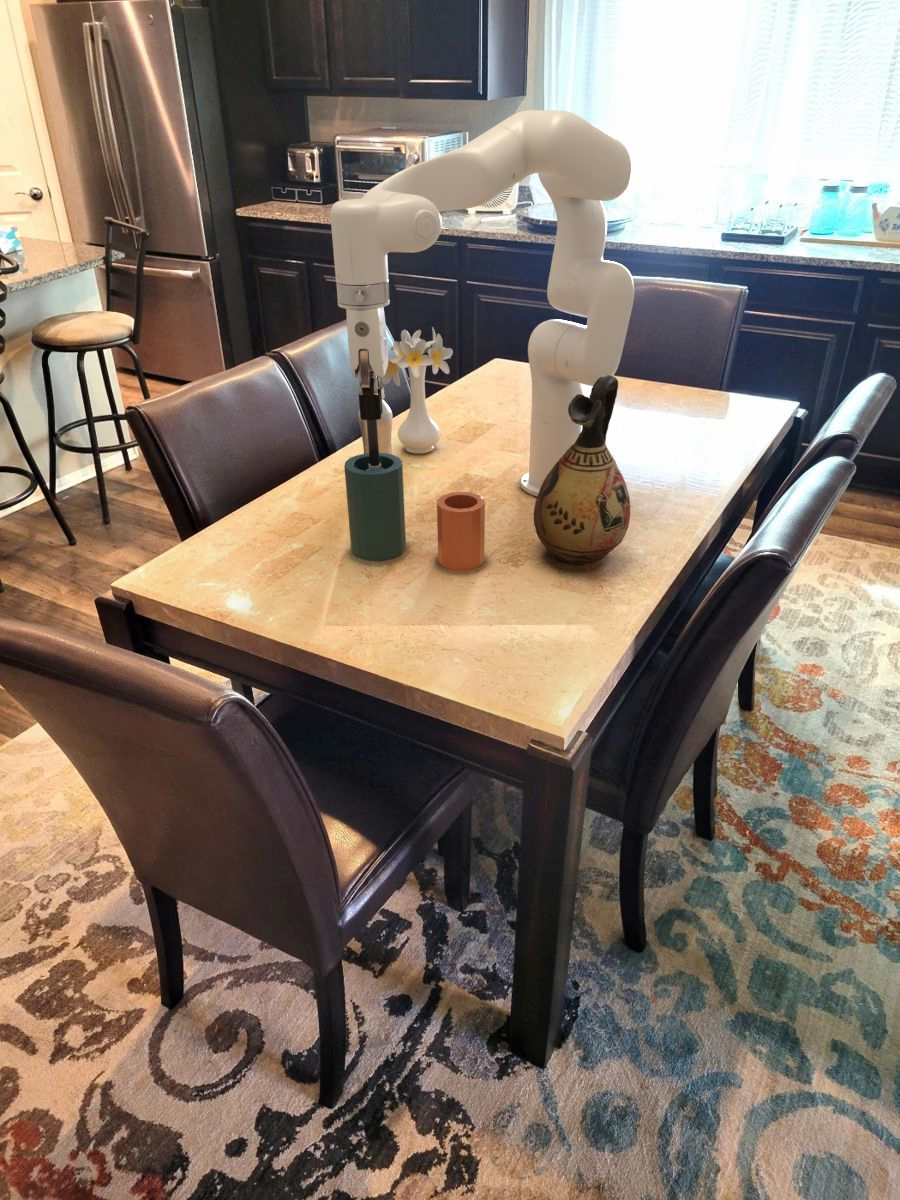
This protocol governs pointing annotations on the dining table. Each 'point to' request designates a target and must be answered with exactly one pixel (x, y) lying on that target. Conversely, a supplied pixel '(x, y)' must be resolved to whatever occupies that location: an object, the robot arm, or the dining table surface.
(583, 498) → the ceramic jug
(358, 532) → the teal hollow cylinder
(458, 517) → the crock
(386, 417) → the metal bottle
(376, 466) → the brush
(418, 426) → the flower vase
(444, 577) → the dining table surface
